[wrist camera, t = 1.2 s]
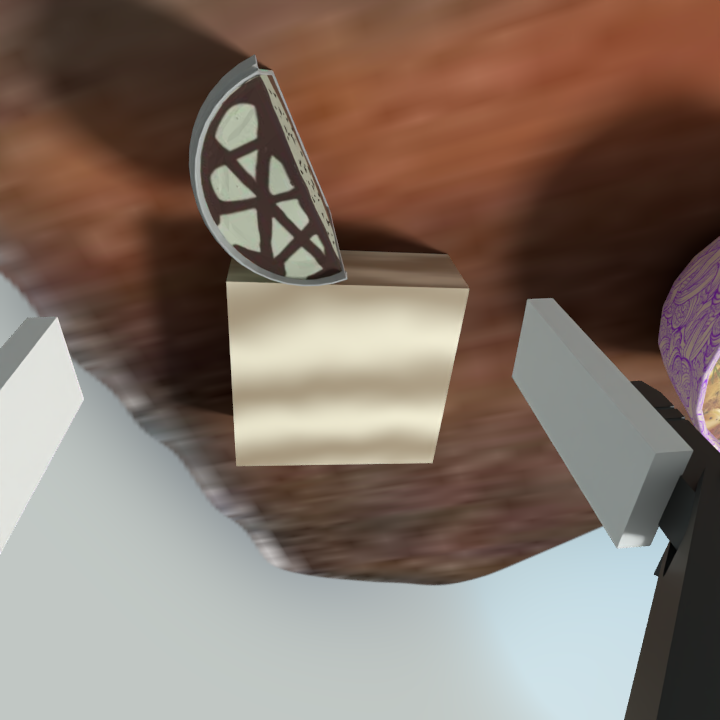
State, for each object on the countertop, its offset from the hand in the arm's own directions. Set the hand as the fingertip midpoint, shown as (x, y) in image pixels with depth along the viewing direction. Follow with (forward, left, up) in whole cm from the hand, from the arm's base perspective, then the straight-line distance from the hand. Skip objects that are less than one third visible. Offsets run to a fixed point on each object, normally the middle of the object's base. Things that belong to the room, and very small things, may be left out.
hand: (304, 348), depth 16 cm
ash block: (+15, +4, -25) cm, 29 cm away
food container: (+1, -2, -25) cm, 25 cm away
